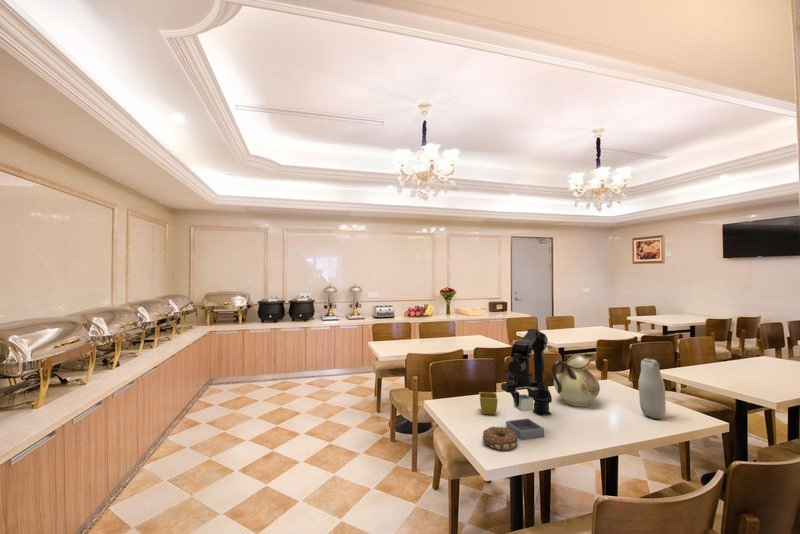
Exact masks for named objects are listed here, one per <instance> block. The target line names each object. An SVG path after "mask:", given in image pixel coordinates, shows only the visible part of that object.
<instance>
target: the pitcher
mask: <svg viewBox="0 0 800 534" xmlns="http://www.w3.org/2000/svg"><path fill="white" fill-rule="evenodd" d="M593 359H594V357H593V356H587V355H584V354H581V353H577V354H573V355H571V356H570V357H569V358H568V359H567V360H566V361H563V360H561V359H556V360H555V361H554V362H553V363H552V364H551V366H550V372H551V377H552V378H553V387H554V388H555V391H556V393H557V394H558V396H560V397H561V398H562V399H563V400H564V403H566V404H567V405H569V406H574V407H583V408H585V407H586V408H587V407H589V406H590V405H591V403H592V402H593V401H594V400H595V399H596V398H597V397H598V396H599V394H600V390H601V388H600V386H601V385H600V383H599V381H598V378H597V377H595V375H594V374H593V373H592V372H591V371H590V369H588V366H589V364H590V363H591V362H592V361H593ZM558 367H559V369H558V371H557V368H558ZM556 371H557V373H556Z"/></svg>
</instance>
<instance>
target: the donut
mask: <svg viewBox="0 0 800 534" xmlns="http://www.w3.org/2000/svg"><path fill="white" fill-rule="evenodd" d="M482 439H483V441H484V443H485V444H486V445H487V446H488V447H490V448H492V449H495V450H499V451H508V450H511V449H514V447H517V446H518V441H519V438H517V436H516V435H515V433H514V432H512V431H511V430H509V429H507V428H506V427H504V426H491V427H489V428H487V429H484V430H483V432H482Z"/></svg>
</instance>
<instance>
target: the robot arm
mask: <svg viewBox="0 0 800 534" xmlns="http://www.w3.org/2000/svg"><path fill="white" fill-rule="evenodd" d="M547 346H548V337H547V335H546V333H544V332H541V330H540V329H537V328H536V329H535V328H529V329H527V331H526V333H525V334H524V336H523V337H522V339H517V340H515V342H513V343H512V346H511V350H510V351H511V352H510V356H509V357H510V359H512V361H510V362H509V363H508V366H507V369H508V371H509V372H507V373H505V381H506V382H502V383H501V384H500V385H501V386H500V389H501V390H502V391H504V392H506V393H509V394H510V395H511V396H512V399H513V403H514V402H515V405H516V407H518V405H519V395H520V392H519V391H518V390H521V389H522V390H523V389H526V391H527V394H528V395H527V396H529V397H531V398H533V405H534V410H532V412H533V413H535V414H537V415H538V416H548V415H549V416H550V415H552V412H550V404H551V403H553V398H552V394H551V392H550V390H549V385H548V384H547V382H546V380H545V359H544V358H545V357H544V351H545V350H546V348H547ZM532 353H533V362H534V363H533V364H534V365H533V367H534V380H531V379H530V377H532V373H530V358H532ZM508 381H509V382H508Z"/></svg>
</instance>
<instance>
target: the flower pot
mask: <svg viewBox="0 0 800 534" xmlns="http://www.w3.org/2000/svg"><path fill="white" fill-rule="evenodd" d="M478 393H479V403H480V404H479V405H480V410H481V412H482V414H483V415H490V416H495V414H496V412H497V411H498V410H497V409H498V400H499V399H498V394H497V393H496V392H484V391H480V392H478Z"/></svg>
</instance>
